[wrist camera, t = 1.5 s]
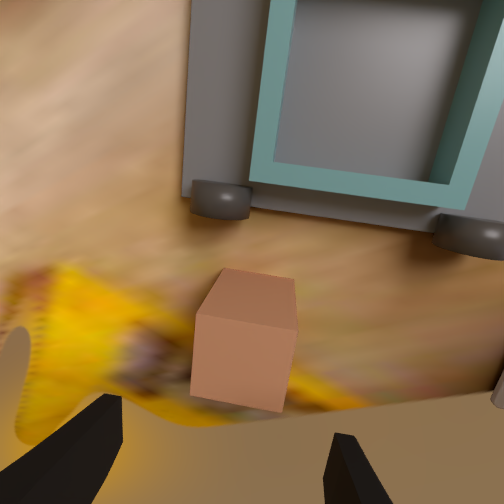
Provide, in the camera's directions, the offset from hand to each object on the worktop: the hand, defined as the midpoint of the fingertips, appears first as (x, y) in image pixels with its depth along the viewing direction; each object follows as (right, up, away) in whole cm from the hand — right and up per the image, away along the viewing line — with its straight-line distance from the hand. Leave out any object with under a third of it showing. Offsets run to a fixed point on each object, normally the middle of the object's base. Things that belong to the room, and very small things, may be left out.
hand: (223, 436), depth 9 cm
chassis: (+7, +14, +5) cm, 17 cm away
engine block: (+1, +3, +9) cm, 10 cm away
